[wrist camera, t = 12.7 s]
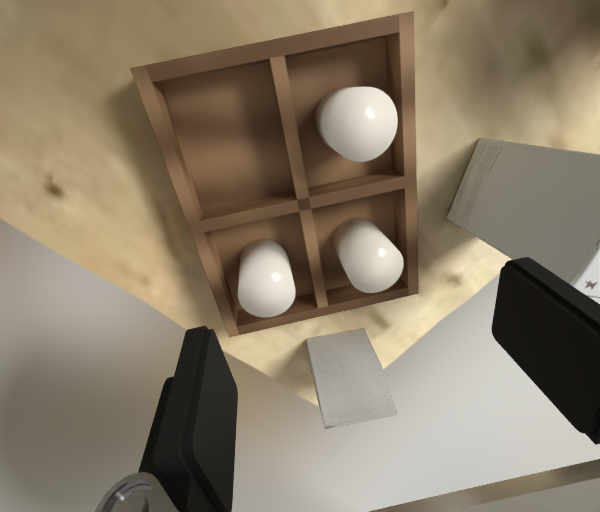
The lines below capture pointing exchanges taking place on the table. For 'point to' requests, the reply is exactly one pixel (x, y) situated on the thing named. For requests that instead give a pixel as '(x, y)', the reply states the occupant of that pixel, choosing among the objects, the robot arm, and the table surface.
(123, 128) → the table surface
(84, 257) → the table surface
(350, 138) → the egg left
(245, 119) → the rack
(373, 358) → the milk carton
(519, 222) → the skincare box
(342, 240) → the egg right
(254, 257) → the egg
